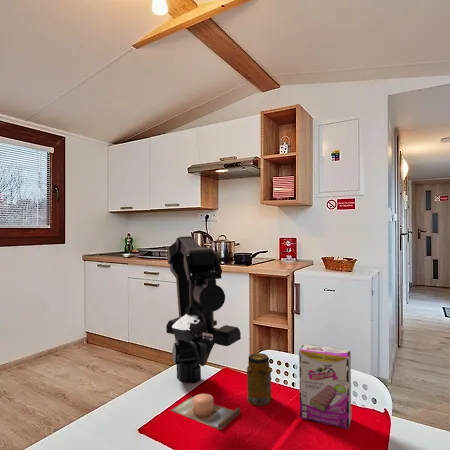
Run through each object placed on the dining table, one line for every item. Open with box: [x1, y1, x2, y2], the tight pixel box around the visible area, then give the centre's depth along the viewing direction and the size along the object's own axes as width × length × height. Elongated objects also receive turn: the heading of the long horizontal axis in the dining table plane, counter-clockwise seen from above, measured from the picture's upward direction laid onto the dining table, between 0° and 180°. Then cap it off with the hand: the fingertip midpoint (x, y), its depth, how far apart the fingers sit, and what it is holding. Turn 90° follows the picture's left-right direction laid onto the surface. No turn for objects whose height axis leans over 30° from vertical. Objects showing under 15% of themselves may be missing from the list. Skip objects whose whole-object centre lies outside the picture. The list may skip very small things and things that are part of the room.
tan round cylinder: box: [193, 393, 214, 417], centre depth 84 cm, size 5×5×3 cm
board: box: [170, 395, 241, 431], centre depth 83 cm, size 15×8×2 cm, turn 56°
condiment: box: [246, 352, 272, 407], centre depth 88 cm, size 7×8×12 cm
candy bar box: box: [298, 343, 352, 430], centre depth 80 cm, size 11×5×16 cm, turn 65°
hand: (202, 365), depth 84 cm, fingers closed
